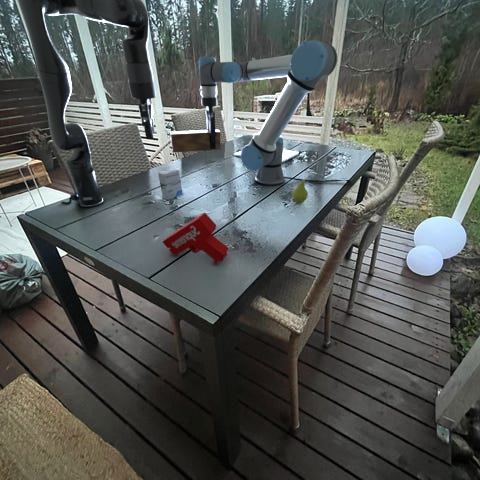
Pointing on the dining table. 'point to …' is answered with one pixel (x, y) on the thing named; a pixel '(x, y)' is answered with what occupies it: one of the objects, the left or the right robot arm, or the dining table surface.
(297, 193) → the fruit
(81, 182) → the left robot arm
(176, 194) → the ink box
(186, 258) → the dining table surface
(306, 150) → the dining table surface
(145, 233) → the dining table surface
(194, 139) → the bar
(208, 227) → the toy gun
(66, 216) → the dining table surface
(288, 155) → the white printed flat box
